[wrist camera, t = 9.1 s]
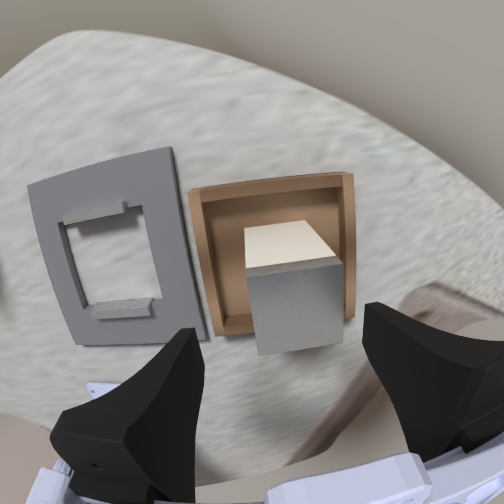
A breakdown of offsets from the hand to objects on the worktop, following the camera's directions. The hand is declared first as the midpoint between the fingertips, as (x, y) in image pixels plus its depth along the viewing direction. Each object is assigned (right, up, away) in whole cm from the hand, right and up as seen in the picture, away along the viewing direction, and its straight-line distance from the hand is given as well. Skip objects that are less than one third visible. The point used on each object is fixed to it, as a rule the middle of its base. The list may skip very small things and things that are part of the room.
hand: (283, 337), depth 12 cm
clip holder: (-12, +3, +8) cm, 15 cm away
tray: (0, +4, +9) cm, 9 cm away
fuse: (0, +3, +8) cm, 9 cm away
